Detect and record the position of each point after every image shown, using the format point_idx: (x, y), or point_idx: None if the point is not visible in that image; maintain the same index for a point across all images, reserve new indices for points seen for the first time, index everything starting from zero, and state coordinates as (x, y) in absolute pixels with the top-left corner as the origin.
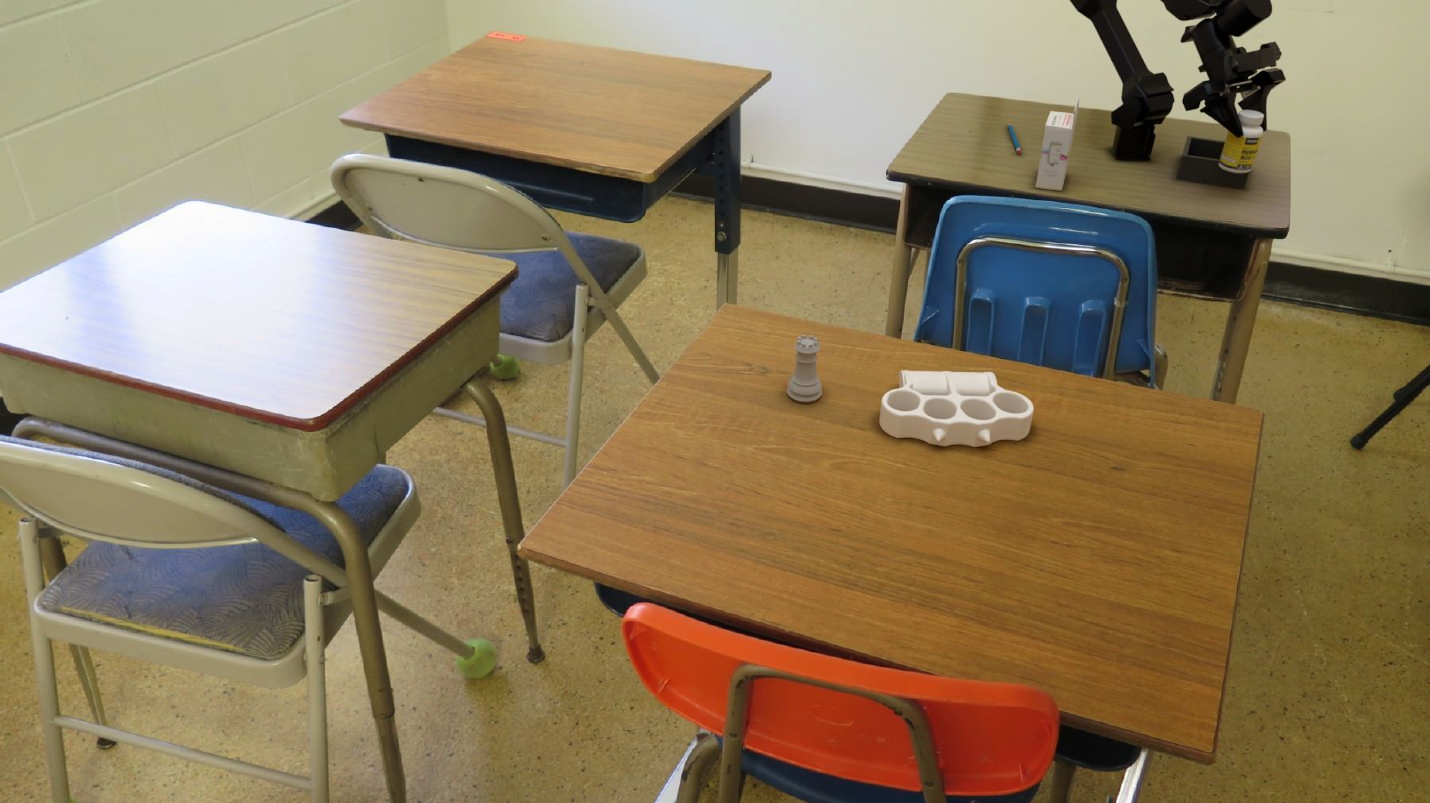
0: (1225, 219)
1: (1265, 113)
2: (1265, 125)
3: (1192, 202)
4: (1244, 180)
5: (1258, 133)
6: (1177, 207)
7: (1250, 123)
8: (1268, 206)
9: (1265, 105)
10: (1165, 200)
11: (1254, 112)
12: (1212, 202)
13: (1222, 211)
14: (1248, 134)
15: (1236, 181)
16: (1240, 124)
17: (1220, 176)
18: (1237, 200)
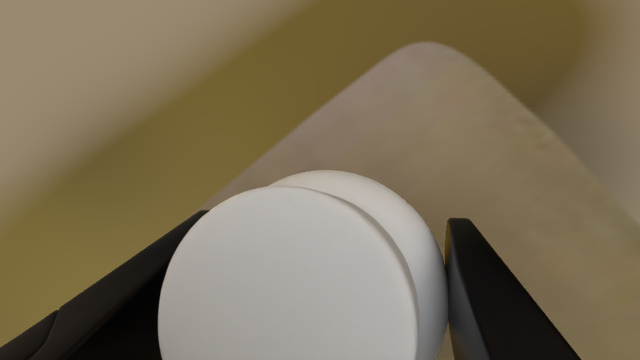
0: (531, 126)
1: (98, 290)
2: (191, 226)
3: (518, 278)
4: None
5: (331, 172)
6: (613, 275)
7: (382, 228)
8: (319, 141)
9: (8, 352)
10: (604, 344)
11: (210, 330)
12: None
13: (484, 176)
14: (407, 203)
15: None
16: (475, 279)
17: None
18: None
